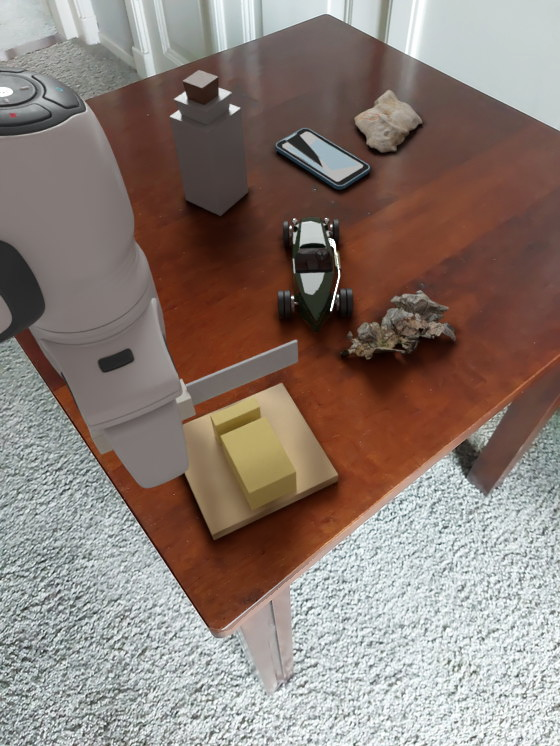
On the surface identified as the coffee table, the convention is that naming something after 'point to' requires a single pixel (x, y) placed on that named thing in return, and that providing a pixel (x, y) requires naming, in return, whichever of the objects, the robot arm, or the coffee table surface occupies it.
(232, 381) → the knife
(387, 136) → the stone
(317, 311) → the toy car
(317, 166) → the smartphone
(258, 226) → the coffee table surface
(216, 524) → the butter board
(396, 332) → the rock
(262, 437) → the butter
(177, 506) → the coffee table surface
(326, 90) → the coffee table surface
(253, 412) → the butter slice
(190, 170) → the perfume bottle
